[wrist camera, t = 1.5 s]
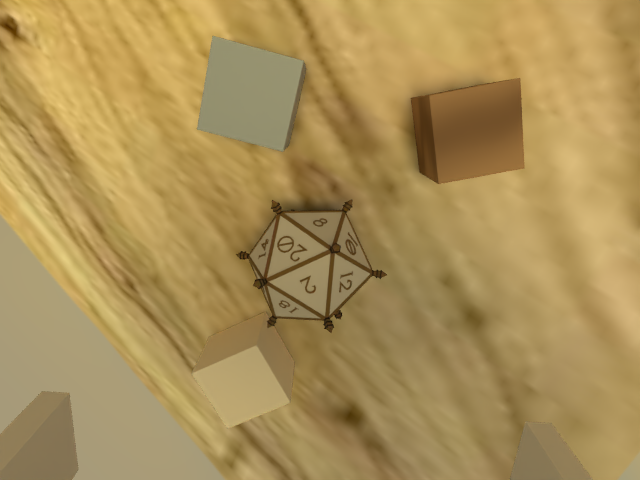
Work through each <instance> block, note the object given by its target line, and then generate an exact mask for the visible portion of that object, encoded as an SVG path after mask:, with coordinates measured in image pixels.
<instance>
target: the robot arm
mask: <svg viewBox="0 0 640 480" xmlns="http://www.w3.org/2000/svg"><path fill="white" fill-rule="evenodd" d="M77 471H78V463H77V454H76V445H75V437H74V429H73V420H72V411H71V403H70V395H69V393H61V392H45V391H42V392H41V393H40V394H39V395H38V396H37V397H36V398H35V399H34V400H33V401H32V402H31V403H30V404H29V405H28V406H27V407H26V408H25V409H24V410H23V411H22V412H21V413H20V414H19V415H18V416H17V417H16V418H15V420H14V421H13V422H12V423H11V424H10V425H9V426H8V427H7V428H6V429H5V430H4V431H3V432H2V433H1V434H0V480H72V479H73V477H74V476H75V474H76V473H77ZM510 480H593V479H592V478H591V477H590V475H589V474H588V473H587V471H586V470H585V468H584V467H583V466H582V464H581V463H580V462H579V460H578V459H577V458H576V456H575V455H574V453H573V452H572V451H571V449H570V448H569V447H568V445H567V444H566V442H565V441H564V440H563V438H562V437H561V436H560V434H559V433H558V432H557V430H556V429H555V427H554V426H553V425H552V423H541V422H525V425H524V429H523V433H522V436H521V440H520V444H519V448H518V451H517V455H516V459H515V463H514V466H513V470H512V474H511V478H510Z"/></svg>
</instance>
